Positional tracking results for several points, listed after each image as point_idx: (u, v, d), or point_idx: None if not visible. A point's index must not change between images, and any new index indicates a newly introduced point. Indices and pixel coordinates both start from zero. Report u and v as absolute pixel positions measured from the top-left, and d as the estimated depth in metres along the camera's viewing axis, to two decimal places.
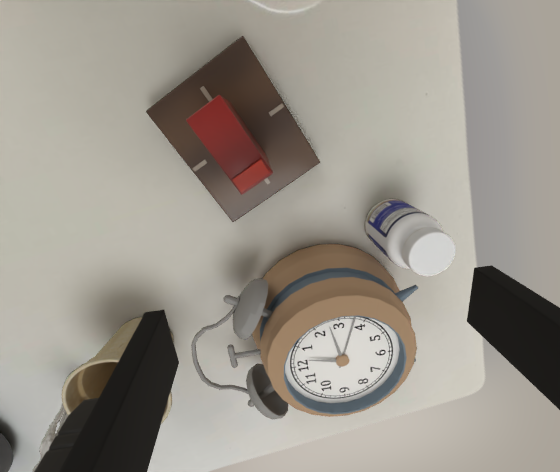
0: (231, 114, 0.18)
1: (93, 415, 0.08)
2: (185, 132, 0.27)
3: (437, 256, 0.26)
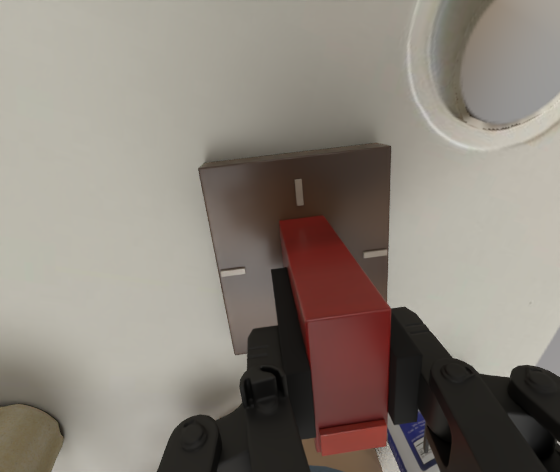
0: (387, 344, 0.09)
1: (282, 331, 0.11)
2: (238, 222, 0.17)
3: None
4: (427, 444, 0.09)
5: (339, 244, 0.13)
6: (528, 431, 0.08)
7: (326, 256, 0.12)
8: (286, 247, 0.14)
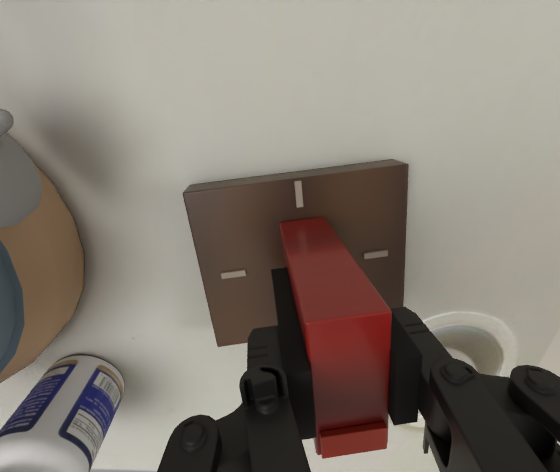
0: (388, 346, 0.09)
1: (282, 331, 0.11)
2: (352, 200, 0.17)
3: None
4: (427, 444, 0.09)
5: (340, 245, 0.13)
6: (528, 431, 0.08)
7: (327, 258, 0.12)
8: (286, 249, 0.14)
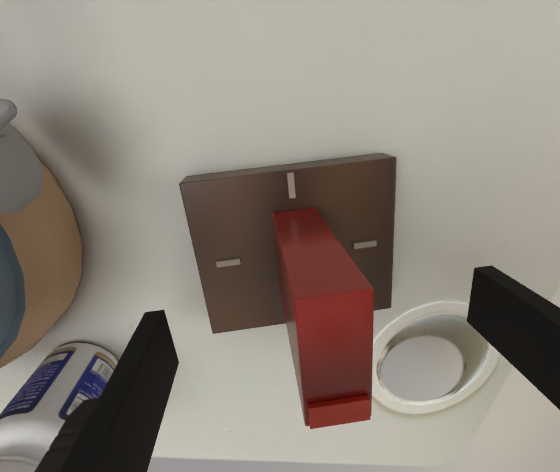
0: (370, 322, 0.10)
1: (93, 415, 0.08)
2: (342, 192, 0.18)
3: None
4: None
5: (329, 233, 0.14)
6: None
7: (316, 244, 0.13)
8: (279, 236, 0.14)
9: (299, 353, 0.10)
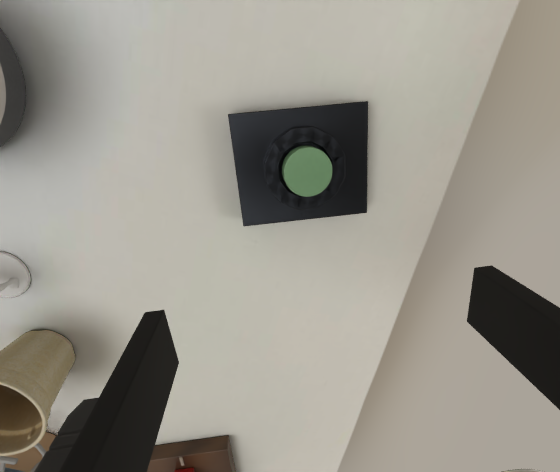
0: None
1: (93, 415, 0.08)
2: (205, 461, 0.41)
3: None
4: None
5: None
6: None
7: None
8: None
9: None
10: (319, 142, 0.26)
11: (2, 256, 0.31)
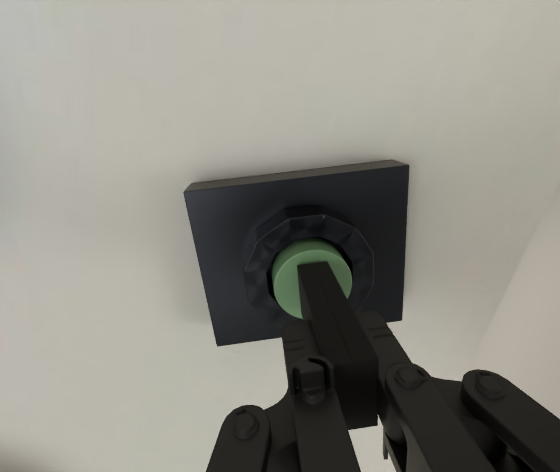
0: None
1: (318, 324, 0.11)
2: None
3: None
4: (386, 450, 0.09)
5: None
6: (481, 437, 0.08)
7: None
8: None
9: None
10: (332, 237, 0.16)
11: None
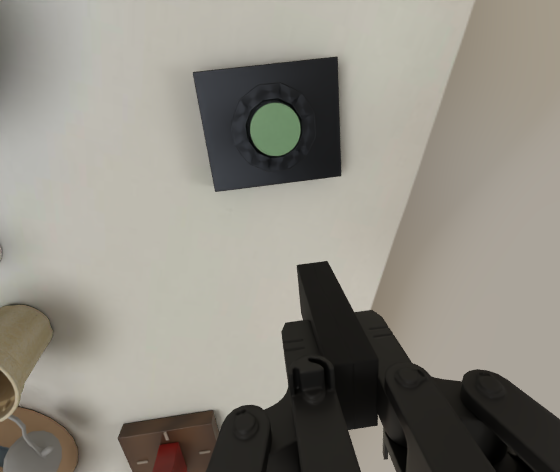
0: None
1: (318, 324, 0.11)
2: (189, 435, 0.41)
3: None
4: (386, 450, 0.09)
5: None
6: (481, 437, 0.08)
7: None
8: None
9: None
10: (287, 99, 0.25)
11: None
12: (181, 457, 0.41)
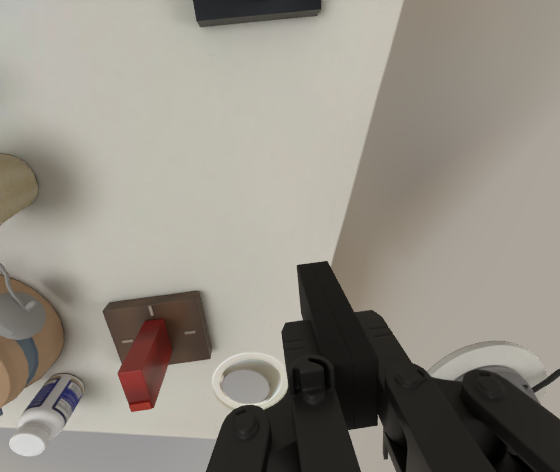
0: (143, 379, 0.33)
1: (318, 324, 0.11)
2: (174, 312, 0.41)
3: (24, 447, 0.38)
4: (386, 450, 0.09)
5: (152, 339, 0.37)
6: (481, 437, 0.08)
7: (143, 346, 0.36)
8: (135, 339, 0.38)
9: (123, 388, 0.33)
10: None
11: None
12: (166, 335, 0.41)
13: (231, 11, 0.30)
